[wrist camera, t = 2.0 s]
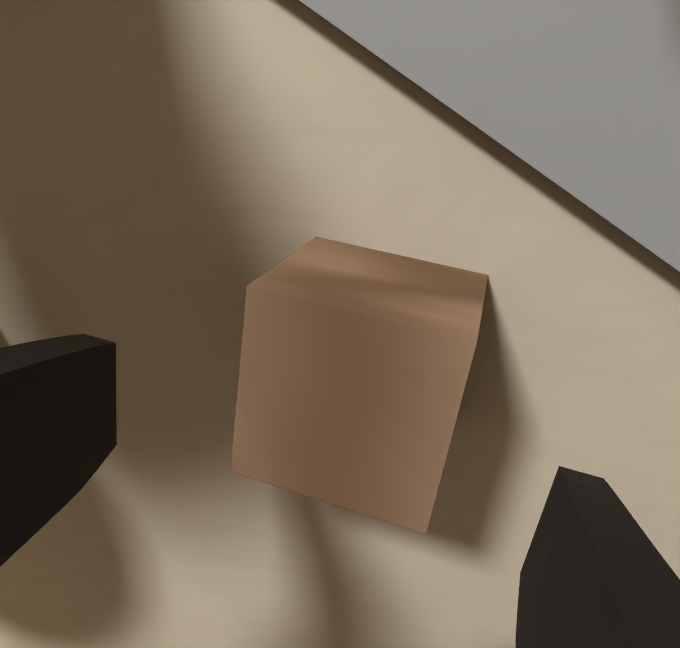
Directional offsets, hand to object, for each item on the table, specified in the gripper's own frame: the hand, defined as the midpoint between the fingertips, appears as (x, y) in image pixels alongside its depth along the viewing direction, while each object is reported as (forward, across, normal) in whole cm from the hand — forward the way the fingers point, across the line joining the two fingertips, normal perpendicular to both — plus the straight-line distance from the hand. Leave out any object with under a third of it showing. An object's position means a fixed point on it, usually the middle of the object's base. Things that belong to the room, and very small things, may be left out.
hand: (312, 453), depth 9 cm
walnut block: (+6, 0, 0) cm, 6 cm away
